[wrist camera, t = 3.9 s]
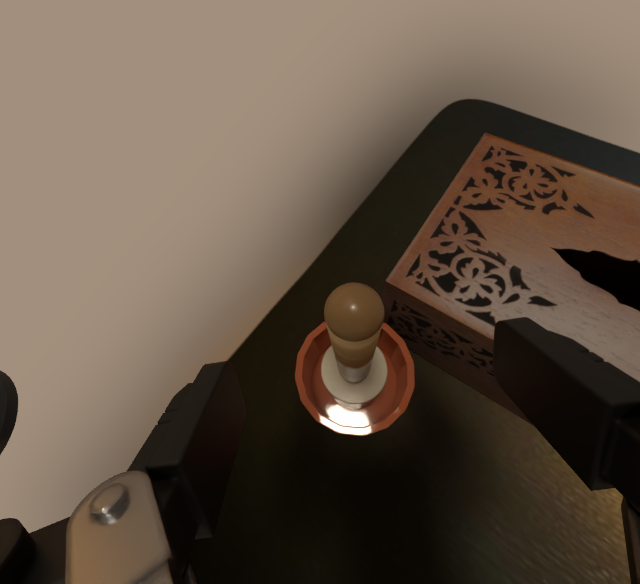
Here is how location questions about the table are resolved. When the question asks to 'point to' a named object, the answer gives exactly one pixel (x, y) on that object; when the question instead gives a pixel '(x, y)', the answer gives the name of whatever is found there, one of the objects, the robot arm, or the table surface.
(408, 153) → the table surface
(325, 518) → the table surface
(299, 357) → the brush holder
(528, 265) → the tissue box cover
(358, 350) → the tan piece
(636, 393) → the robot arm
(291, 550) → the table surface
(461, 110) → the table surface
